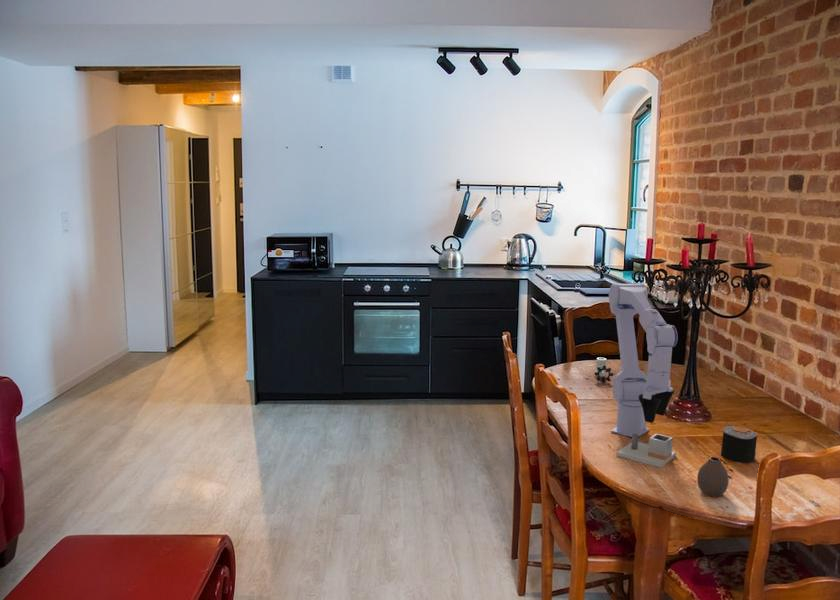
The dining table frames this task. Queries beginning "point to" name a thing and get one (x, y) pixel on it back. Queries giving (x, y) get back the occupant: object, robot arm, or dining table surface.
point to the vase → (713, 478)
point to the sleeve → (660, 446)
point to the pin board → (641, 453)
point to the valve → (602, 370)
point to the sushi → (739, 444)
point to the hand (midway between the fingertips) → (654, 418)
